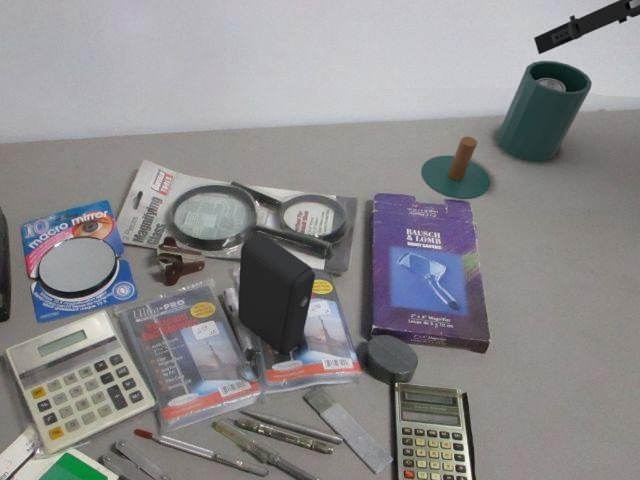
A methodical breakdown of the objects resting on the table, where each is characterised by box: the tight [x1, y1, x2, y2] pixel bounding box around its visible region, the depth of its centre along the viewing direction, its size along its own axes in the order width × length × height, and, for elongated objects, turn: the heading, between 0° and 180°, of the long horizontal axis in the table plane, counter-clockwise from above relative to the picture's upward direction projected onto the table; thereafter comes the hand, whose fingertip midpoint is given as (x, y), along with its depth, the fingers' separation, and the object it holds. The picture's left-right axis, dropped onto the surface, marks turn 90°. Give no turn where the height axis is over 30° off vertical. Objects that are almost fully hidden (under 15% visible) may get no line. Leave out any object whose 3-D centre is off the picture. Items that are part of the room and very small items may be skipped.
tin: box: [496, 60, 592, 163], centre depth 103 cm, size 10×10×14 cm
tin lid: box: [421, 136, 490, 200], centre depth 99 cm, size 11×11×8 cm
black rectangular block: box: [237, 233, 316, 356], centre depth 74 cm, size 9×4×15 cm, turn 45°
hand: (555, 37), depth 96 cm, fingers open, 9 cm apart
